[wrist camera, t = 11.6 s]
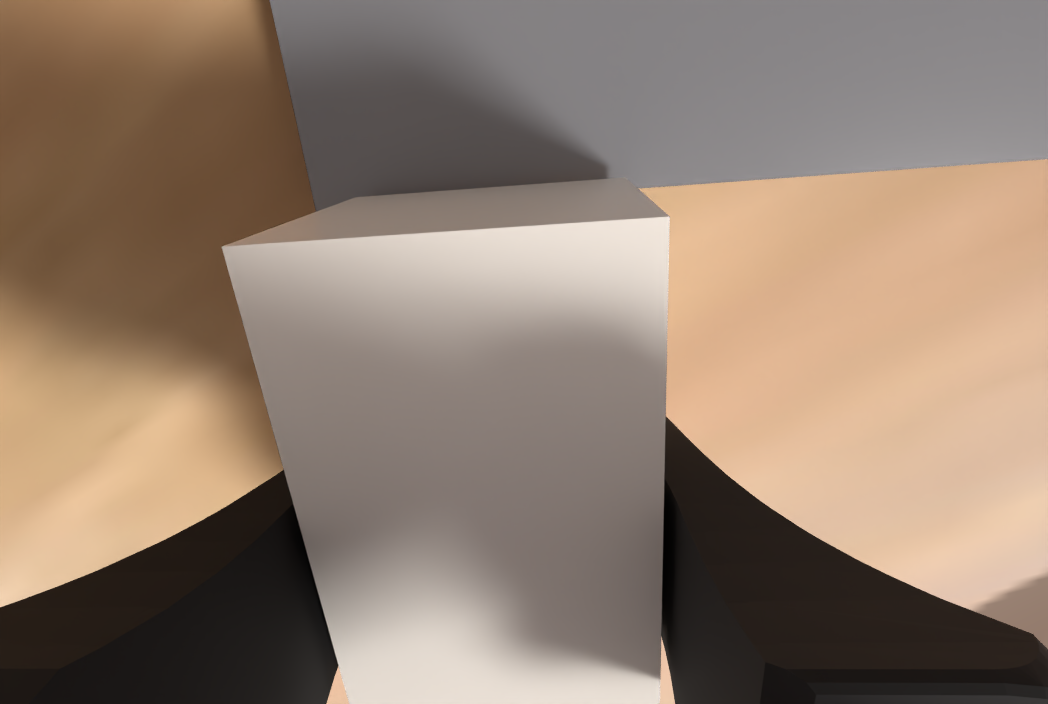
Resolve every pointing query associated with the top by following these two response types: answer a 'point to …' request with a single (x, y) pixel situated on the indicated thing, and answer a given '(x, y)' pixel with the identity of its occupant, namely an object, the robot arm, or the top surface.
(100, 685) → the robot arm
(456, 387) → the cover
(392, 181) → the plate
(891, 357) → the top surface
